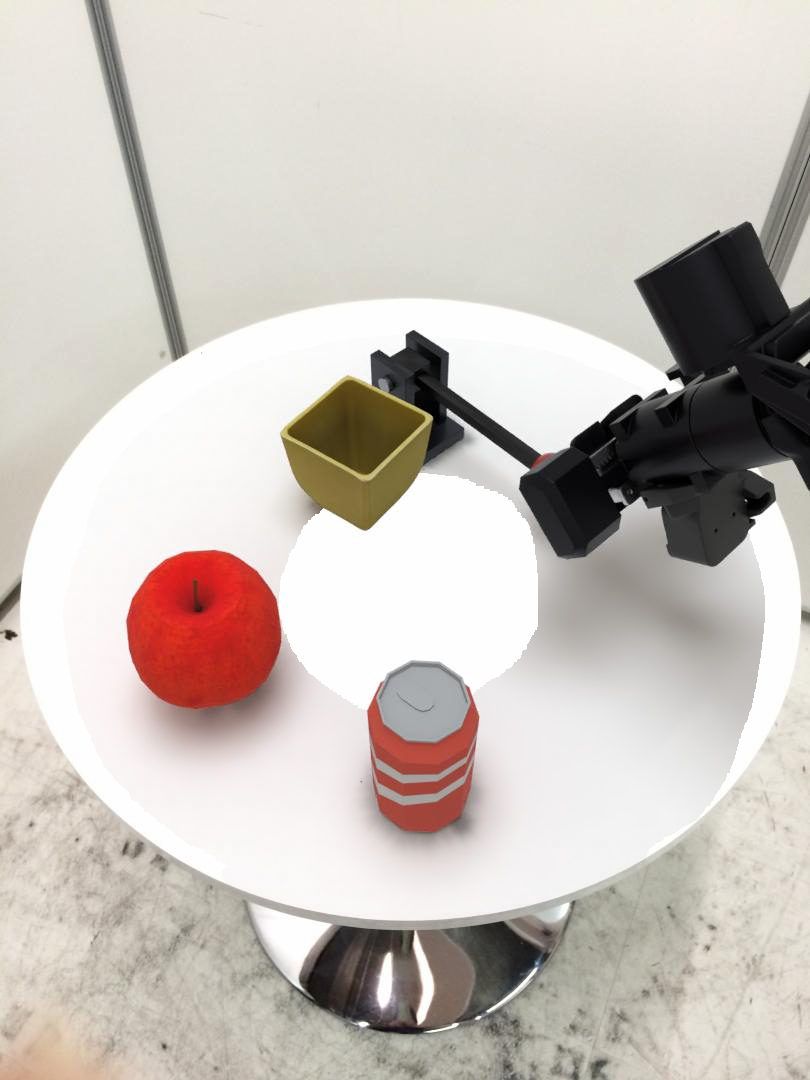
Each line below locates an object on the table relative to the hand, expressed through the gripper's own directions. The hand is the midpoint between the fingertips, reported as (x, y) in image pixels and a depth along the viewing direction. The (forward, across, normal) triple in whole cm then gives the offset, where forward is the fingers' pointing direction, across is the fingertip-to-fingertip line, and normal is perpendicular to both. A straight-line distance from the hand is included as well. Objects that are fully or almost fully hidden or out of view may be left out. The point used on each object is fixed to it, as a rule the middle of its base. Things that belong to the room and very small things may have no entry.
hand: (564, 470), depth 65 cm
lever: (+8, 0, +5) cm, 9 cm away
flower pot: (+15, -9, +5) cm, 18 cm away
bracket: (+17, 0, +8) cm, 19 cm away
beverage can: (0, -23, -12) cm, 26 cm away
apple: (+10, -28, 0) cm, 30 cm away
